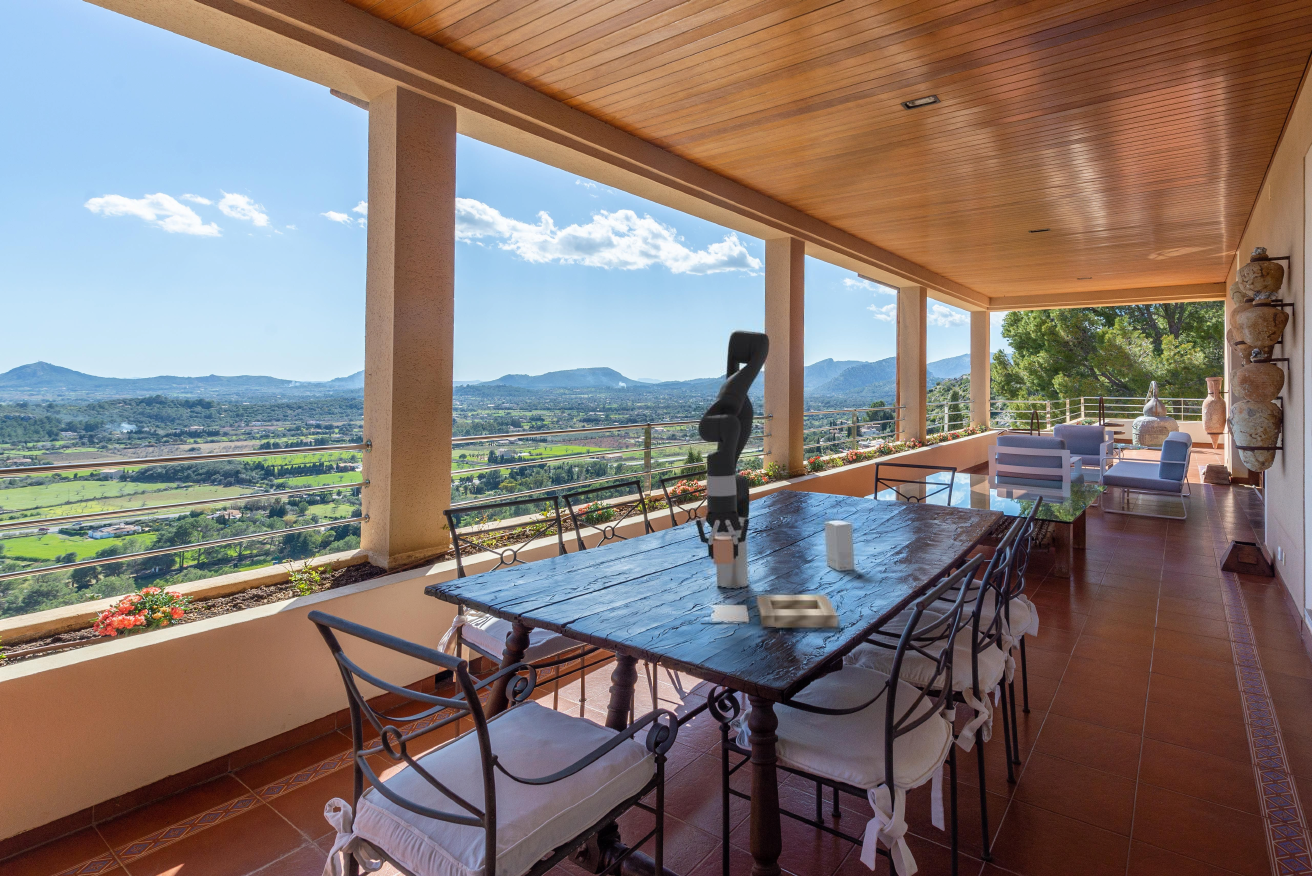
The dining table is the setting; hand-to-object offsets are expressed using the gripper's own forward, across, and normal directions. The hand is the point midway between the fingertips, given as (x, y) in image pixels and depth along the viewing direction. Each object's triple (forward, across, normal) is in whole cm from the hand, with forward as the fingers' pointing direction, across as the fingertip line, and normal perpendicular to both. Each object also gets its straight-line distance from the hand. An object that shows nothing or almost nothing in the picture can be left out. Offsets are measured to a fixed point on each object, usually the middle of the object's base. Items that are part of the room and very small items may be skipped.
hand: (723, 557), depth 165 cm
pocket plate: (+15, +18, -1) cm, 23 cm away
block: (+1, 0, 0) cm, 1 cm away
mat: (+15, 0, 0) cm, 15 cm away
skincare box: (+15, +38, +45) cm, 61 cm away
